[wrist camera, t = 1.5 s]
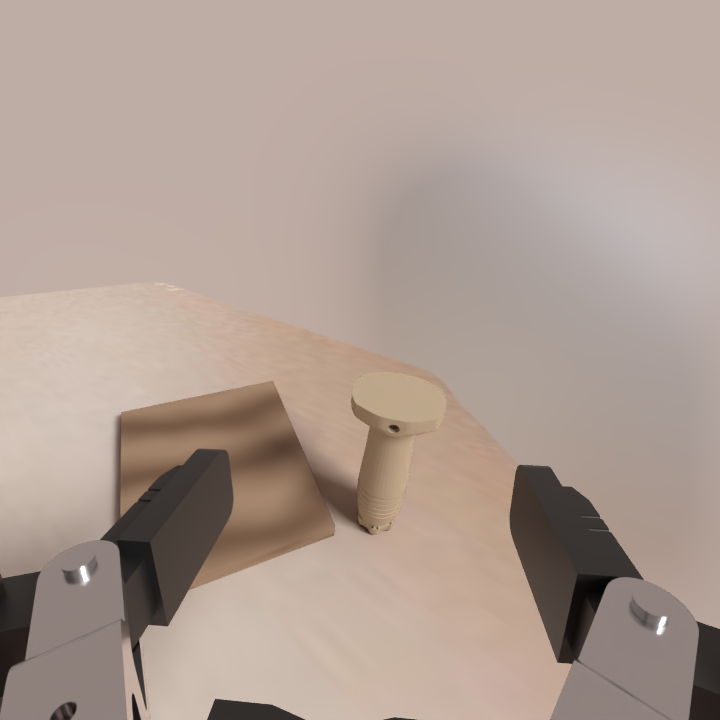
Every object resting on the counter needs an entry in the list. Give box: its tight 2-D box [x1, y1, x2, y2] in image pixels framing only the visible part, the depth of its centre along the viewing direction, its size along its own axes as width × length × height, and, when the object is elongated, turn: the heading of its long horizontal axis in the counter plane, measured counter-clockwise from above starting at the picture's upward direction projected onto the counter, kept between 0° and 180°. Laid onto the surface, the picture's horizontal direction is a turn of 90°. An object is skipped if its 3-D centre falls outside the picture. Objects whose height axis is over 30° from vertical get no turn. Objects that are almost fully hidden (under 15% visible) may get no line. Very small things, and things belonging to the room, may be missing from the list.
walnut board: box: [120, 381, 335, 590], centre depth 38 cm, size 20×16×2 cm
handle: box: [351, 372, 446, 534], centre depth 32 cm, size 5×6×15 cm
